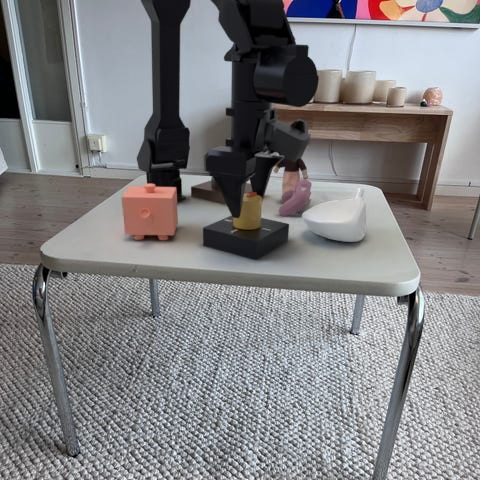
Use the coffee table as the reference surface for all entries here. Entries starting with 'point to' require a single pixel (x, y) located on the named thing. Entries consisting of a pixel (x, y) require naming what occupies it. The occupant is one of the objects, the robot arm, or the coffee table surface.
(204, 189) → the lamp base
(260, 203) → the dimmer knob
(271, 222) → the panel
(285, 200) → the pink rounded piece
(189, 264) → the coffee table surface
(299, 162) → the grandmother figurine
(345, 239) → the golf club head
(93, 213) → the coffee table surface
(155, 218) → the pink cube teapot
